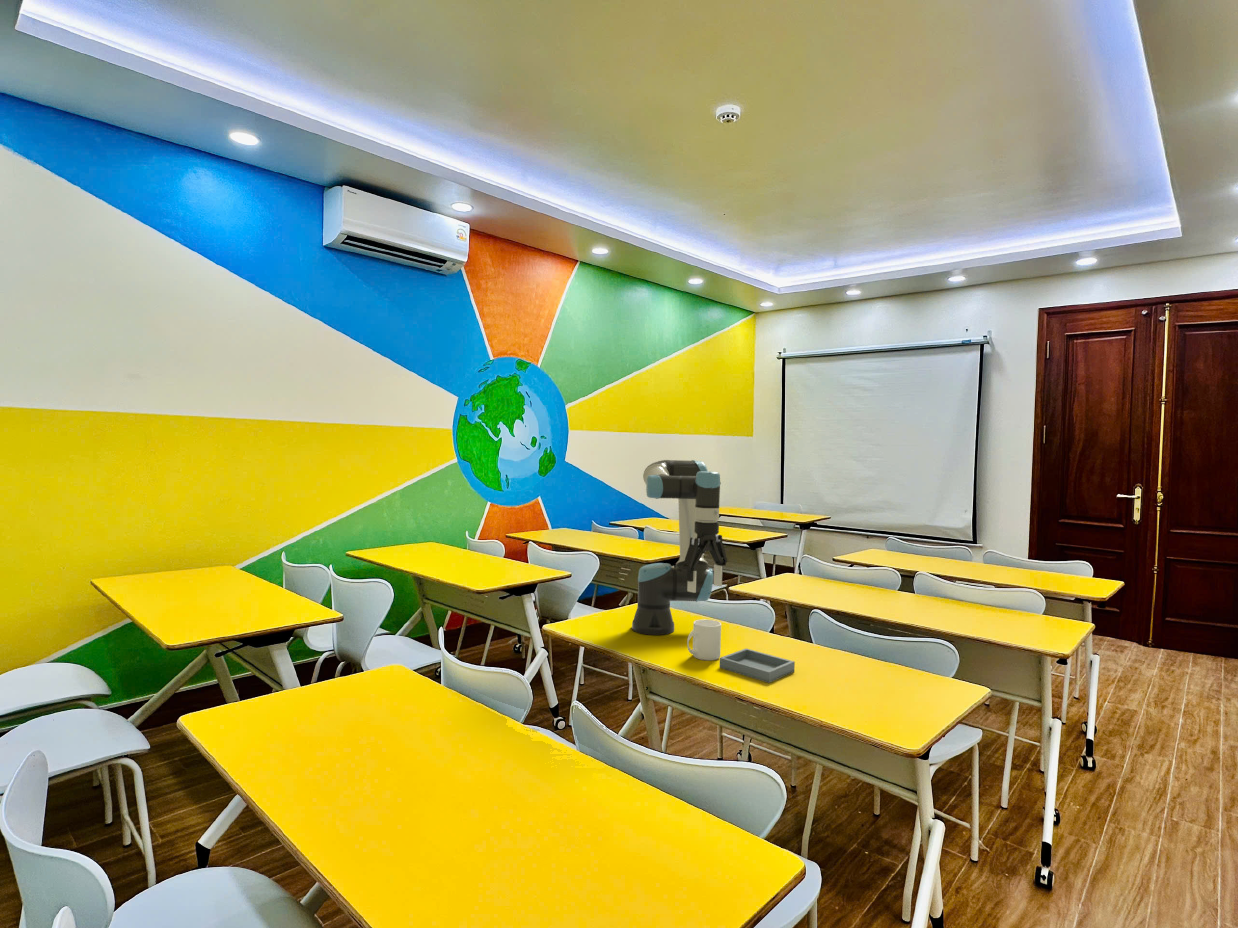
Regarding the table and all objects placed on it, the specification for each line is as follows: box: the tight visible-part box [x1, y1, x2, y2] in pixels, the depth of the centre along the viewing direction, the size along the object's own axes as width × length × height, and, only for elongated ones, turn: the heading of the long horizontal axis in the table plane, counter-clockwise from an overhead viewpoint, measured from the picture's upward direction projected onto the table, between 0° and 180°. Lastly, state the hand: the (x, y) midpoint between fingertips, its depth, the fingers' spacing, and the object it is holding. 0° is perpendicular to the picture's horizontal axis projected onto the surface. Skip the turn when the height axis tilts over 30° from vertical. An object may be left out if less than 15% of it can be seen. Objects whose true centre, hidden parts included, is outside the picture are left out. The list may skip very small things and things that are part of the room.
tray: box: [719, 648, 796, 684], centre depth 199 cm, size 17×14×3 cm
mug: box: [686, 618, 722, 662], centre depth 210 cm, size 9×12×11 cm
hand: (704, 588), depth 209 cm, fingers open, 13 cm apart
